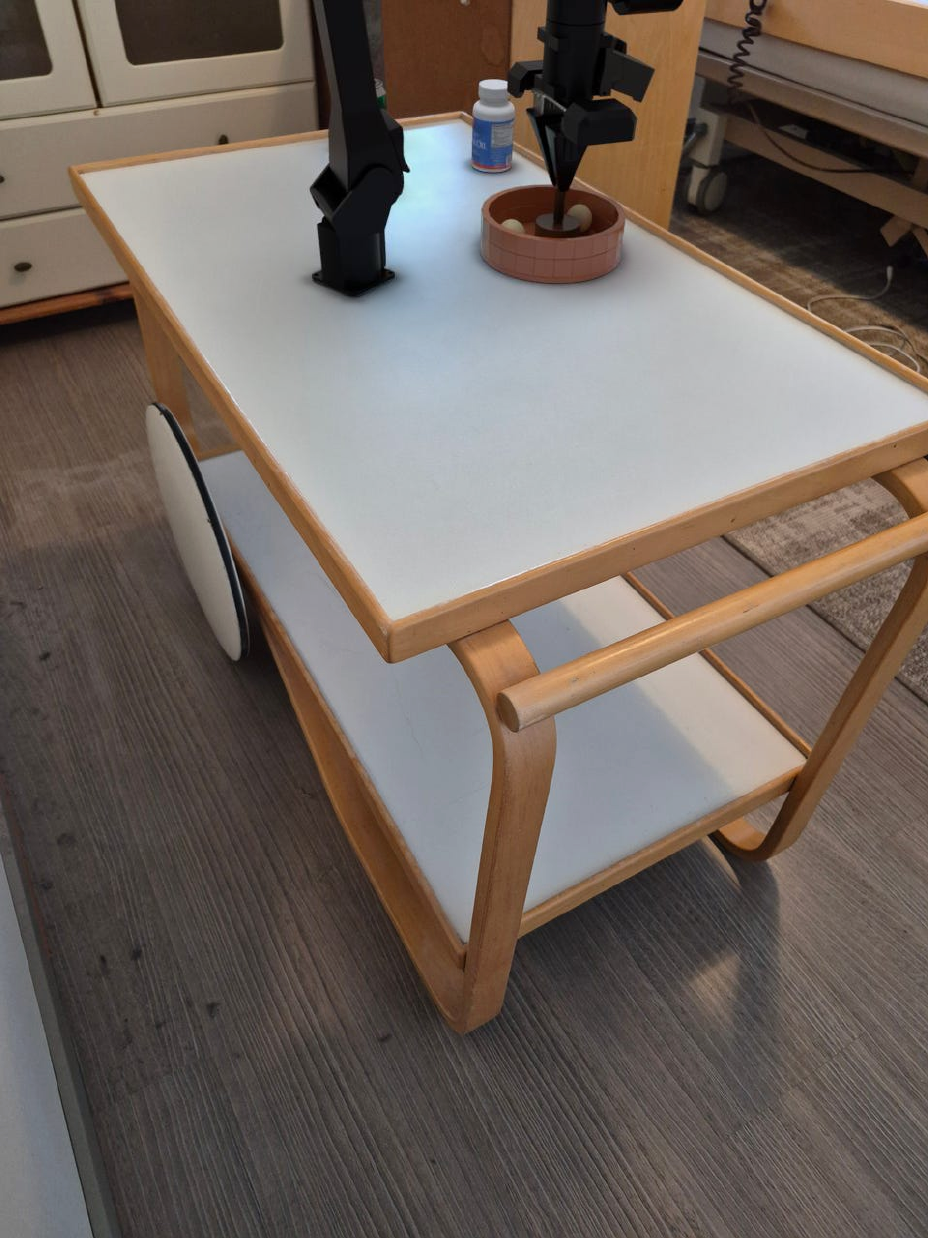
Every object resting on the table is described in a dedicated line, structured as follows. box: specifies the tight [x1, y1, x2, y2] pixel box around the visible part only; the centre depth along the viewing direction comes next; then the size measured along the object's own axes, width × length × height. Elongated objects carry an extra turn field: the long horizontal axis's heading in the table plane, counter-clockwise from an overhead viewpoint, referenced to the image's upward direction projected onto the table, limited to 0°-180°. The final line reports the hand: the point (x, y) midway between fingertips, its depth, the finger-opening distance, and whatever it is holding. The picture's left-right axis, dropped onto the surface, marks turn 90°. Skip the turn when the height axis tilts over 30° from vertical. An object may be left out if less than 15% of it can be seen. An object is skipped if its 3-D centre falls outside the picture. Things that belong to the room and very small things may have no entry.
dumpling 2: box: [567, 205, 592, 233], centre depth 103 cm, size 3×3×3 cm
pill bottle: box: [470, 78, 516, 173], centre depth 116 cm, size 6×5×10 cm
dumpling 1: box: [501, 219, 525, 234], centre depth 99 cm, size 3×3×3 cm
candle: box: [363, 0, 388, 104], centre depth 117 cm, size 8×7×20 cm
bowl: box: [479, 183, 627, 284], centre depth 100 cm, size 16×16×4 cm
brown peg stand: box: [534, 183, 581, 238], centre depth 98 cm, size 5×5×9 cm
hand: (560, 188), depth 97 cm, fingers closed on brown peg stand
